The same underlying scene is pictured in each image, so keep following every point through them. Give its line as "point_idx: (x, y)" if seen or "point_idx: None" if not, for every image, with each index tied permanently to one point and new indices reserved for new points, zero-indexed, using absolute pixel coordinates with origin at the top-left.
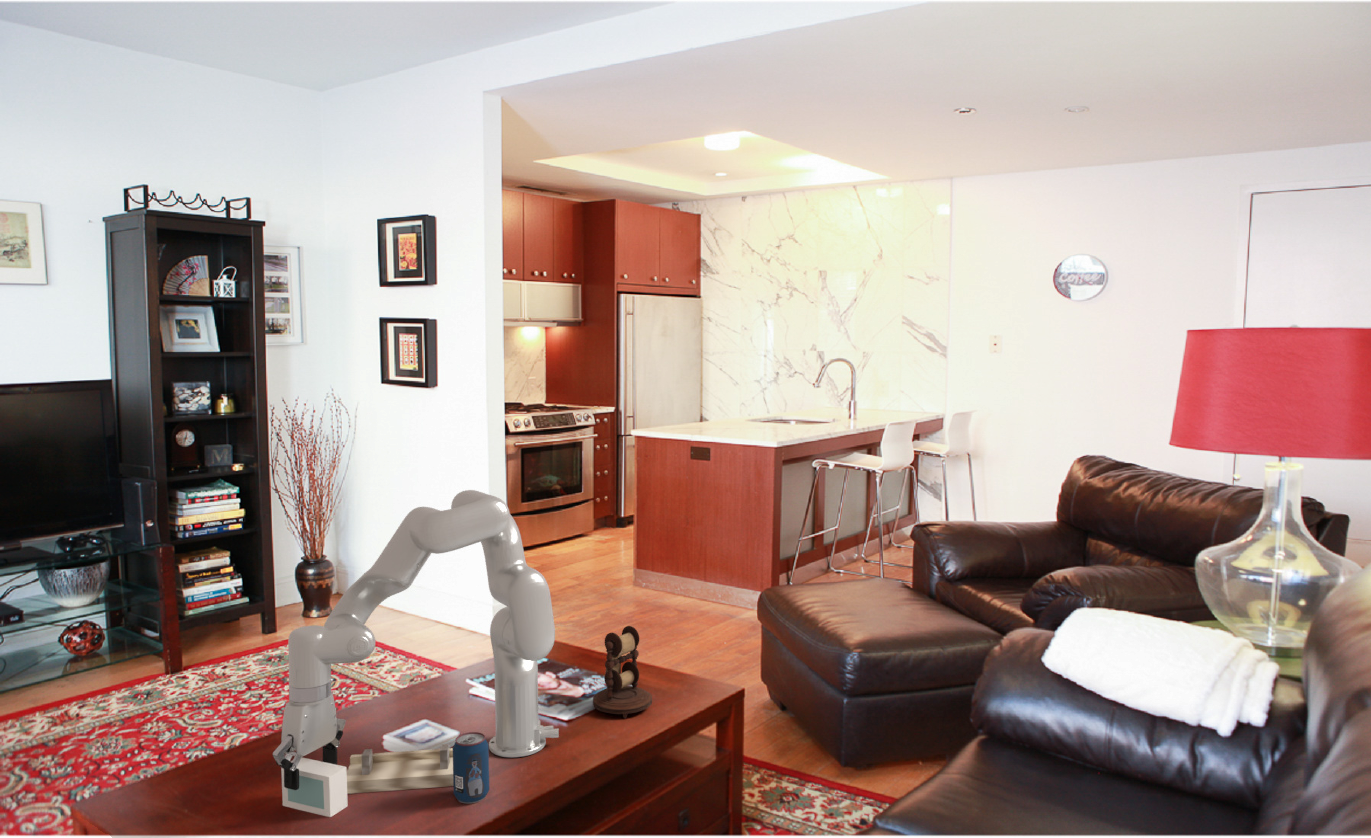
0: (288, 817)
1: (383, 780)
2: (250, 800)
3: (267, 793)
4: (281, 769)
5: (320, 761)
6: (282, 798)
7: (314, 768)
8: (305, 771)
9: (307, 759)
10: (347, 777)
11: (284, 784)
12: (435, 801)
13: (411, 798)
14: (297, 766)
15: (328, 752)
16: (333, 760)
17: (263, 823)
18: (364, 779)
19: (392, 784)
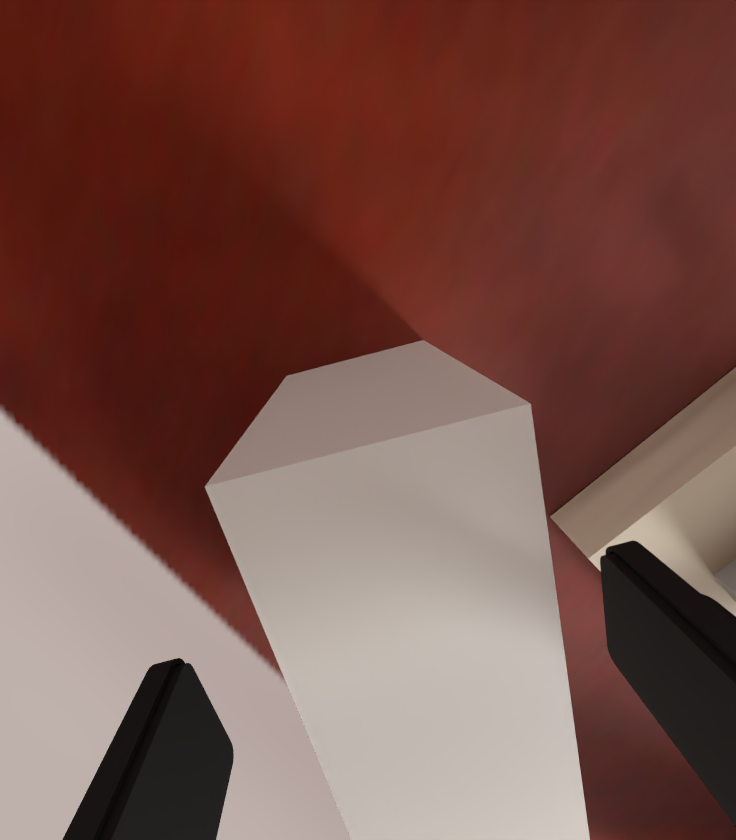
0: None
1: None
2: (172, 107)
3: (303, 110)
4: (219, 468)
5: (568, 705)
6: (280, 384)
7: (429, 781)
8: (333, 781)
9: (531, 562)
10: (651, 537)
11: (144, 684)
12: (679, 821)
13: (661, 755)
14: (344, 636)
15: (733, 755)
16: (662, 720)
17: (123, 475)
18: None
19: None
